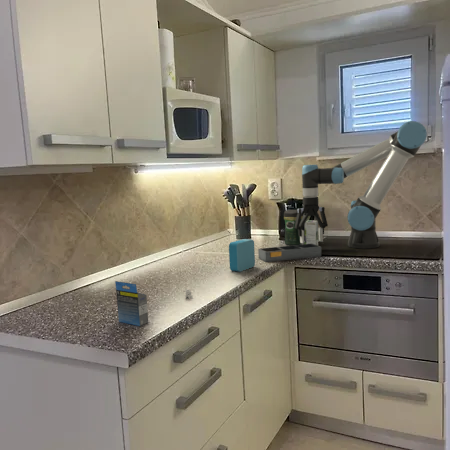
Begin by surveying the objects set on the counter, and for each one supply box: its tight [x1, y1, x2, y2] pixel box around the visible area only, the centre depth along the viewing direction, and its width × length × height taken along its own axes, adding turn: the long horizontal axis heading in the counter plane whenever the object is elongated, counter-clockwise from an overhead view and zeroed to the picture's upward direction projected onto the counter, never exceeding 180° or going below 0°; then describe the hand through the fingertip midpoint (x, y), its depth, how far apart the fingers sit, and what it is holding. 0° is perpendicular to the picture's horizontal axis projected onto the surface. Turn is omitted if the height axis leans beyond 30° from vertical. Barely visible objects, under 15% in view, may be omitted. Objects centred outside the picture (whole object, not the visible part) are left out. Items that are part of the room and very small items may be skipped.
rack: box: [257, 243, 322, 263], centre depth 211 cm, size 27×10×4 cm, turn 105°
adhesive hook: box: [183, 289, 193, 300], centre depth 155 cm, size 3×3×3 cm
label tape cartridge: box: [114, 280, 149, 327], centre depth 132 cm, size 9×4×12 cm, turn 56°
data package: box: [228, 238, 256, 273], centre depth 192 cm, size 12×4×12 cm, turn 140°
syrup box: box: [303, 220, 319, 246], centre depth 225 cm, size 6×6×14 cm
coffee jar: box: [283, 209, 304, 246], centre depth 243 cm, size 10×8×19 cm
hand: (311, 242), depth 226 cm, fingers open, 9 cm apart
